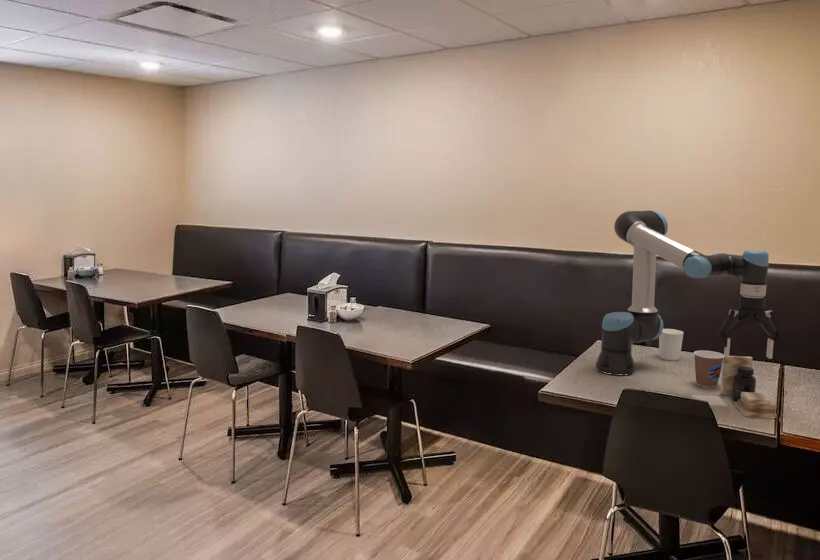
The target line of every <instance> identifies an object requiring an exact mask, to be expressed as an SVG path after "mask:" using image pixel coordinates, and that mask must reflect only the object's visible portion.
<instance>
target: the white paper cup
mask: <svg viewBox="0 0 820 560" xmlns="http://www.w3.org/2000/svg"><path fill="white" fill-rule="evenodd" d="M683 338H684V331H682V330H679V329H674V328H663V331H662V333H661V335H660V336H659V337H658V340H659V341H658V357H659V358H660V359H662V360H666V361H678V360H680V359H681V352H682V345H683Z"/></svg>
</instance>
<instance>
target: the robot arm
mask: <svg viewBox="0 0 820 560" xmlns="http://www.w3.org/2000/svg"><path fill="white" fill-rule="evenodd" d="M668 225H669V224H668V221H667V219H666V217H665V216H664V215H663V213H661V212H659V211H655V210H629V211H625V212H622V213H621V214H620V215H618V216H617V218H616V219H615V222H614V227H613V228H614V232H615V235H616V236H617V237H618V238H619V239H621V240H622V241H623V242H625V243H627V244H629V245H630V246H632V247H633V260H632V261H633V262H632V263H633V264H632V265H633V266H632V285H631V286H632V287H631V288H632V290H631V305H630V306H629V307H628V308H627V311H615V312H614V311H613V312H609V313H607V314H605V315H604V316H603V319H602V324H601V345H600V347H601V348H600V352H599V355H598V357H597V359H596V362H595V369H596V368H597V369H598V370H600V371H603V372H606V373H611V374H623V375H622V376H626V375H625V374H631V375H633V374H635V373H634V372H636V365H635V362H634V358H633V354H632V346H633V345H632V344H637V343H648V342H651V341H654V340H656V339H659V336H660V335H661V333H662V331H663V329H664V321H663V319H662V316H660V314H658V313H659V312H658V311H659V309H657V308H656V306H655V296H656V295H655V288H656V269H657V256H658V257H659V258H662V259H664V260H665V261H668V262H669V263H671V264H673V265H675V266H677V267H679V268H681V269H683V273H685V275H686V276H687V277H688V278H691V279H704V278H713V277H714V278H716V277H727V276H729V277H737V278H740V291H739V294H740V296H739V302H738V303H739V304H738V310H736V309H732V308H729V309H728V310H727V311H728V312H727V315H726V316H725V318H724V320H723V321H722V324H721V325H720V327H718V330H717V331H716V335H718V336H719V337H721V347H723V348H724V349H723V355H724V356H726V357H729V356H730V352H731V351H730V349H731V337H730V336H731V335H732V334H733V333H735V331H737V329H739V327H741V326H742V325H743V324H754V325H756V324H759V325H760V326H761V328H762V329H763V331H764V332H765V333H766V334H767V335H768V337H770V338H768V337H767V345H766V355H765V356H766V358H768V359H769V360H771V359H773V353H774V350H775V349H776V348H777V341H778V340H779V339H783V338H784V335H783V332H782V330H781V328H780V326H779V324H778V322H777V319H776V314H775V311H773V310H770V309H769V310H766V311H765V308H766V298H765V297H766V295H767V280H768V271H769V266H770V263H769V257H770V254H769V253H768V252H767V251H764V250H755V249H748V250H744V251H743V253H742V254H741V255H738V254H729V253H712V254H709V255H706V254H703V253H701V252H699V251H697V250H695V249H693V248H691V247H689V246H687V245H684V244H683V243H681V242H679V241H677V240H675V239H673V238H671V237H668V236H666V234H667V232H668V229H669V228H668V227H669V226H668ZM737 315H738V318H737V319H735V321H734V322H733V323H732V321H733V319H734V318H735V317H736V316H737ZM764 317H767V318H768V321H769V323H770V325H771V326H772V330H771V328H770V327H769V325H768V324H767V323H766V321H765V320H764V319H763V318H764ZM731 323H732V324H731ZM730 324H731V325H730ZM773 331H774V332H773ZM598 370H597V371H598ZM600 371H599V372H600ZM606 373H605V374H606ZM632 373H633V374H632ZM611 374H610V375H611Z"/></svg>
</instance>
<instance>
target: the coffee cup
mask: <svg viewBox="0 0 820 560" xmlns="http://www.w3.org/2000/svg"><path fill="white" fill-rule="evenodd" d="M693 354H694V369H695V371H694V372H695V381H696V382H695V383H696V385H698V386H700V387H702V388H710V389H711V388H713V389H714V388H717V386H718V383H719V379H720V376H721V373H722V372H721V371H722V368H723V361H724V353H721V352H717V351H712V350H695V351H693Z"/></svg>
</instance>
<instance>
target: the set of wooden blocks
mask: <svg viewBox="0 0 820 560" xmlns="http://www.w3.org/2000/svg"><path fill="white" fill-rule="evenodd" d="M738 367H750V368H753V357H752V356H741V355H740V356H739V355H729V357H726V356H724V358H723V362H722V372H721V383H720V384H721V387H720V394H721V395H727V396H728V395H729V396H732V391H733V380H734V376H735V375H736V374H738V373H737V371H738ZM736 407H737V408H738V409H739V410H740V411H739V410H738V409H737V408H736ZM735 408H736V409H737V410H738V411H739V412H740V413H741V414H743V415H744V416H745V417H746V416H749V417H748V418H758V417H765V418H764V419H772V418H771V417H774V418H776V419H777V416H778V414H777V413H776V404H775V403H773V402H772V400H771V399H770V398H769V397H767V396H766V395H765V394H763V392H755V393H752V392H741V399H738V403H737V402H735ZM774 418H773V419H774Z"/></svg>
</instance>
